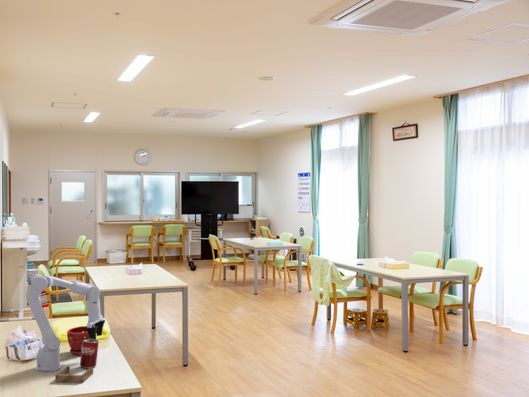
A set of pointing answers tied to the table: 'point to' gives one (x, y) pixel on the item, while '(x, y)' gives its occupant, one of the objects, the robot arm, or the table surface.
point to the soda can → (89, 353)
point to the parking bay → (73, 376)
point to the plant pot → (77, 339)
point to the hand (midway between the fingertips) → (96, 338)
